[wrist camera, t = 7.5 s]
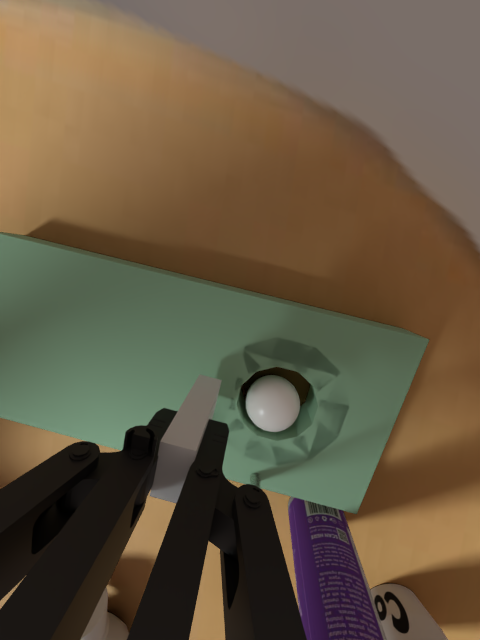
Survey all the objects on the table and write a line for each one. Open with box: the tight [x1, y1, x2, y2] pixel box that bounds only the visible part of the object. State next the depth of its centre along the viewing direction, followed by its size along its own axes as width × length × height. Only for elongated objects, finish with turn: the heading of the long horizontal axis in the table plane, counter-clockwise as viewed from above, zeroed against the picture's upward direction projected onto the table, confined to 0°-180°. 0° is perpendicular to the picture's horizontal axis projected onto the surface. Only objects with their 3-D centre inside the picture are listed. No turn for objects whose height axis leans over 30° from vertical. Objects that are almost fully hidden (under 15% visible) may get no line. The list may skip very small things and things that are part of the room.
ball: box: [246, 375, 300, 432], centre depth 19 cm, size 4×4×4 cm
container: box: [288, 497, 387, 640], centre depth 15 cm, size 5×5×15 cm
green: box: [0, 232, 429, 514], centre depth 19 cm, size 30×14×3 cm, turn 77°
